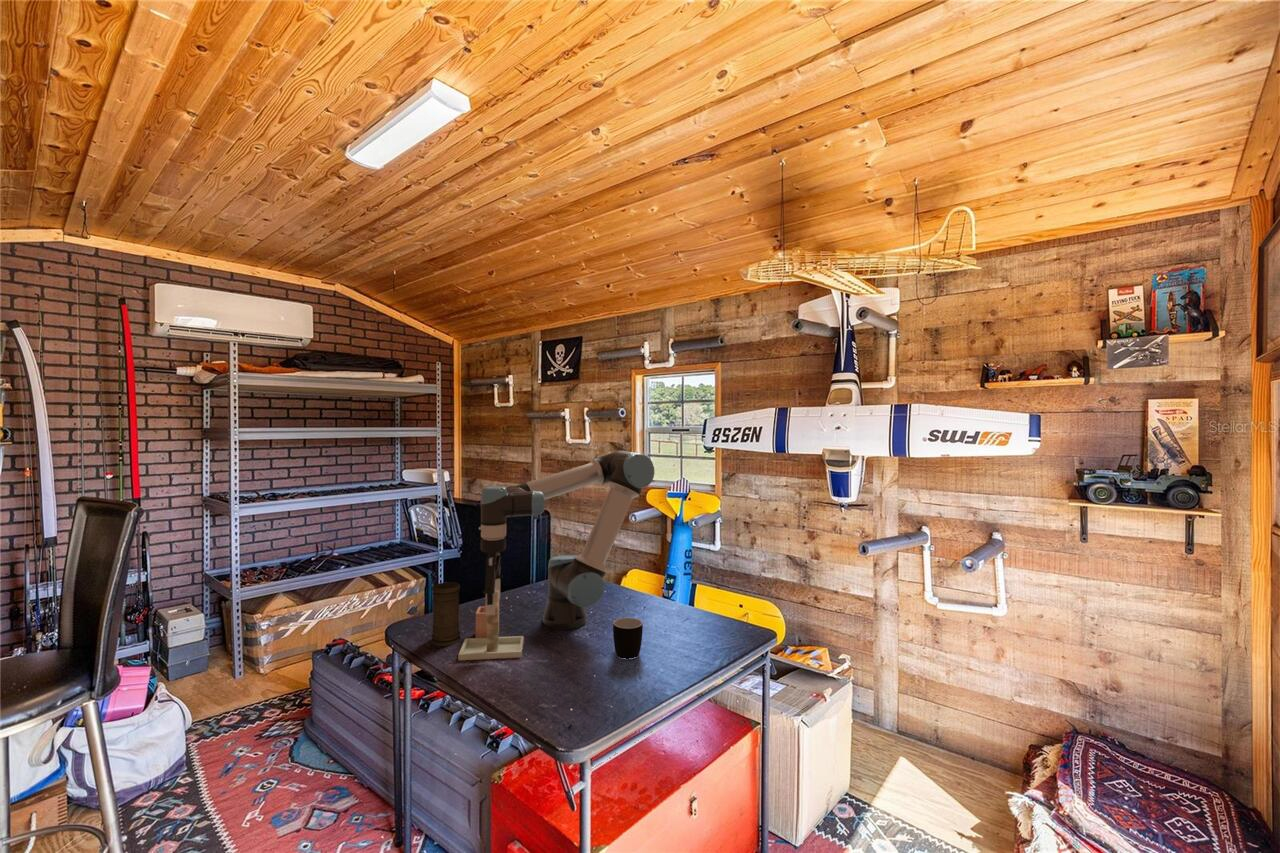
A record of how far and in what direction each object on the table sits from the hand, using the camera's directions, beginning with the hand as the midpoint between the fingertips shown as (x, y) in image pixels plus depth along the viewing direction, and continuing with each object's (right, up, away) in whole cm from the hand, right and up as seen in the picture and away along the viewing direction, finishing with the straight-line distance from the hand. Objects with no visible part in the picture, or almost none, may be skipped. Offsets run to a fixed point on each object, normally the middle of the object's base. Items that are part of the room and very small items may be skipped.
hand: (493, 607), depth 169 cm
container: (-17, -14, +8) cm, 23 cm away
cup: (-5, -14, +12) cm, 19 cm away
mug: (+40, -15, 0) cm, 43 cm away
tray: (0, -14, 0) cm, 14 cm away
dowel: (0, -13, 0) cm, 13 cm away
